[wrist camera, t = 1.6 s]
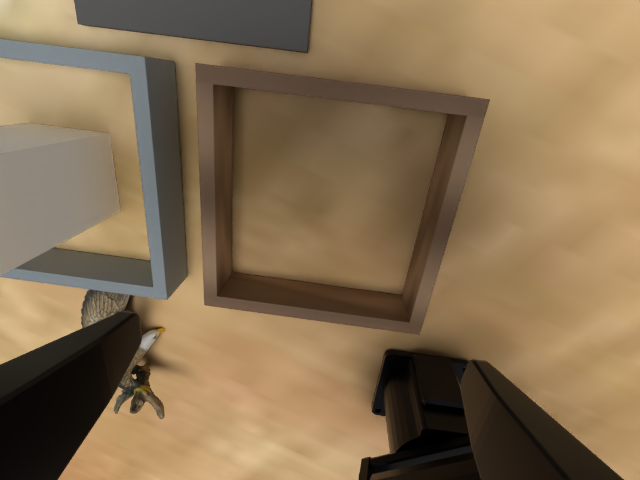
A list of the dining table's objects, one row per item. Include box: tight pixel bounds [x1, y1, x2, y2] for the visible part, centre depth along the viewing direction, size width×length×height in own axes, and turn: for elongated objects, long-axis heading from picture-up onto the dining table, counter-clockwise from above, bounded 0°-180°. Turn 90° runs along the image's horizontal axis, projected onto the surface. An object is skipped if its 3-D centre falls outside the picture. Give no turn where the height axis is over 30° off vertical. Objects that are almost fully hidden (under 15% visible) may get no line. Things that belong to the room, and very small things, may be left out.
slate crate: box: [0, 39, 188, 300], centre depth 20 cm, size 14×14×3 cm
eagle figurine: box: [81, 290, 165, 419], centre depth 24 cm, size 8×7×9 cm
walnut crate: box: [195, 63, 490, 335], centre depth 20 cm, size 14×14×3 cm
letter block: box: [0, 123, 121, 276], centre depth 17 cm, size 5×5×10 cm
